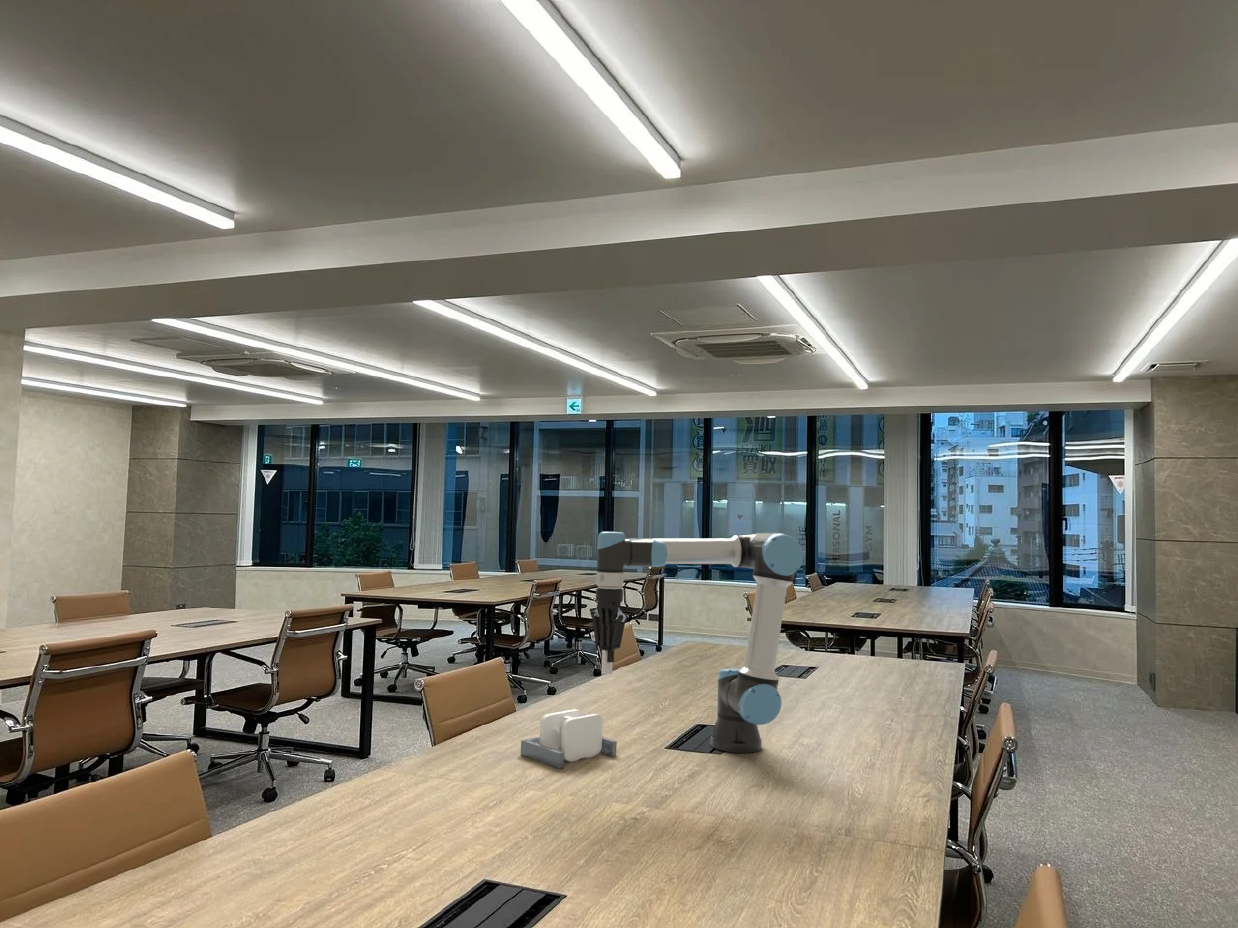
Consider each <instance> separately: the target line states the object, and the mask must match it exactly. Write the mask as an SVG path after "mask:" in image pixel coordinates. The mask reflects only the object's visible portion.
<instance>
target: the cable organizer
mask: <svg viewBox="0 0 1238 928" xmlns="http://www.w3.org/2000/svg"><path fill="white" fill-rule="evenodd" d="M603 722H604V720H603V716H602V715H600V714H597V713H592V714H586V715H584V712H583V711H582V710H579V709H575V708H573V709H569V710H563V711H557V712H552V713H547V714H544V715H543V716H542V717H541V718H540V725H539V727H540V730H539V736H540V745H543V746H546V747H549V748H552V749H555V750H558V751H561V752H564V761H566V762H567V761H568V763H572V762H577V761H579V760H580V759H584V758H586V759H589V758H593V757H596V755H598V754H599V753H601V752H600V751H601V749H602V737H603V725H604V723H603Z"/></svg>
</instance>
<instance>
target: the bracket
mask: <svg viewBox="0 0 1238 928" xmlns="http://www.w3.org/2000/svg"><path fill="white" fill-rule="evenodd" d="M617 742H618V741H617V740H614V739H611V738H608V737H605V736H602V749H601V751H600V752H599V753H601V754H603V755H607V756H610V757H615V756H617ZM520 755H521V756H524V757H526V758H529V759H530V760H534V761H537V762H540V763H542V764H545V765H548V766H551V767H552V768H556V769H558V770H560V769H561V770H562V769H564V768H565V766H564V765H565V760H564V752H561V751H558V750H555V749H552V748H549V747H546V746H543V745H540V735H539V736H535V737H530V738H526V739H521V740H520Z"/></svg>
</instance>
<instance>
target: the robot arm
mask: <svg viewBox="0 0 1238 928" xmlns="http://www.w3.org/2000/svg"><path fill="white" fill-rule="evenodd" d="M625 535H626V534H625V533H624V532H623V531H621V532H620V531H601V532H600V533H598V537H597V547H596V550H597V551H596V583H595V584H596V586H597V587H596V589H595V601H596V602H597V604H596V608H595V609H594V610H591V611H590V612H589V613H590V616H591V619H592V625H593V634H594V641H595V642H594V645H595V647H599V649H600V661H601V675H611V674H613V665H614V661H615V650H617V649H618V650H619V649H620V648H621V646H622V641H623V640H622V639H623V634H624V629H625V625H626V622H627V620H628V617H629V616H628V614H624V612H623V611H622V606H621V604H622V602H623V601H624V590H623V587H624V575H625V574H624V572H625V571H624V569H625V567H646V568H648V567H649V568H651V567H652V568H655V567H656V568H657V567H658V568H660V567H661V568H662V567H663V566H665V565H668V564H669V565H670V564H671V565H675V564H676V565H678V564H679V565H681V564H682V565H686V564H687V565H696V564H697V565H715V564H716V565H718V564H719V565H731V566H732V567H734V568H745V569H750V570H751V569H752V570H753V572H752V577H753V579H754V580H755V582H756V586H755V595H754V602H753V608H752V614H751V620H750V621H751V622H750V628H749V634H748V642H747V648H746V655H745V660H744V661H745V662H744V666H741V668H722V669H720V670H719V671H718V675H717V676H718V678H717V710H716V711H717V716H716V722H715V724H714V727H713V731H712V734H711V736H710V745H711V747H712V748H714V749H716V750H719V751H722V752H728V753H736V754H743V753H744V754H749V753H755V752H759V751H760V750H761V749H762V744H763V743H762V741H763V740H762V738H761V735H760V730H759V726H762V725H767V724H769V723H771V722H773V721H774V720H776V718H777V717H778V716H779V714H780V712H781V709H782V704H783V703H782V701H783V700H782V698H781V697H782V696H781V695H780V692H779V691H778V688H779V681H780V680H779V679H780V678H779V676H778V674H777V673H776V671H775V669H776V663H777V655H778V649H779V643H780V642H779V641H780V635H781V630H782V629H781V627H782V622H783V615H784V608H785V604H786V603H785V601H786V595H787V589H788V587H790V586H791V585H793V584H794V577H795V573H796V572H797V571H799V569H800V568H801V566H802V564H803V560H804V553H803V549H802V546H801V545H800V543H799V542H798V540H797V539H795V538H794V537H793V536H791V535H789V534H785V533H782V532H781V533H779V532H759V533H752V534H743V535H733V536H731V538H636V537H630V538H626V536H625Z"/></svg>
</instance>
